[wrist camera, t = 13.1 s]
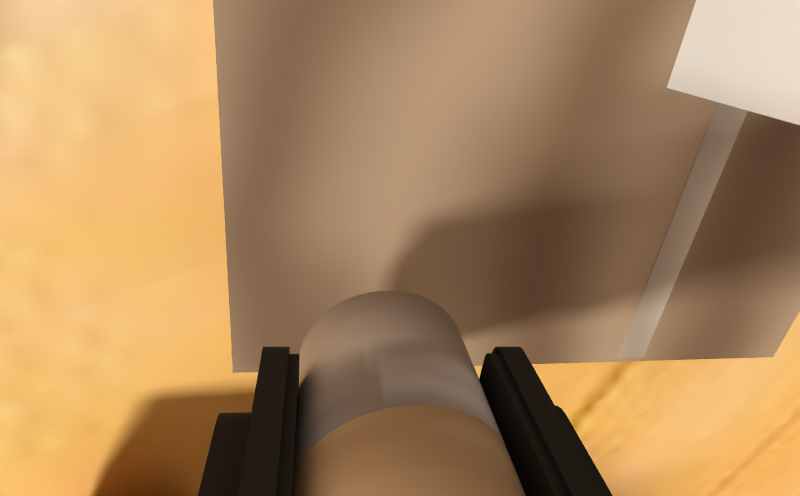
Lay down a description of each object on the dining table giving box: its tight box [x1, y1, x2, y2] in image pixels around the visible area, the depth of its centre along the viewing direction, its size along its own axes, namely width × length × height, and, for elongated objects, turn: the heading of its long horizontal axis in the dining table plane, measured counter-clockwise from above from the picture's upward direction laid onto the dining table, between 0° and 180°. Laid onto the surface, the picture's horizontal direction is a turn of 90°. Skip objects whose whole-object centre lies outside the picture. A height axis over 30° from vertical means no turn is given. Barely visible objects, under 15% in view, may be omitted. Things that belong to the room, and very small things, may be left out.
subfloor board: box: [213, 0, 800, 373], centre depth 13 cm, size 19×17×1 cm
